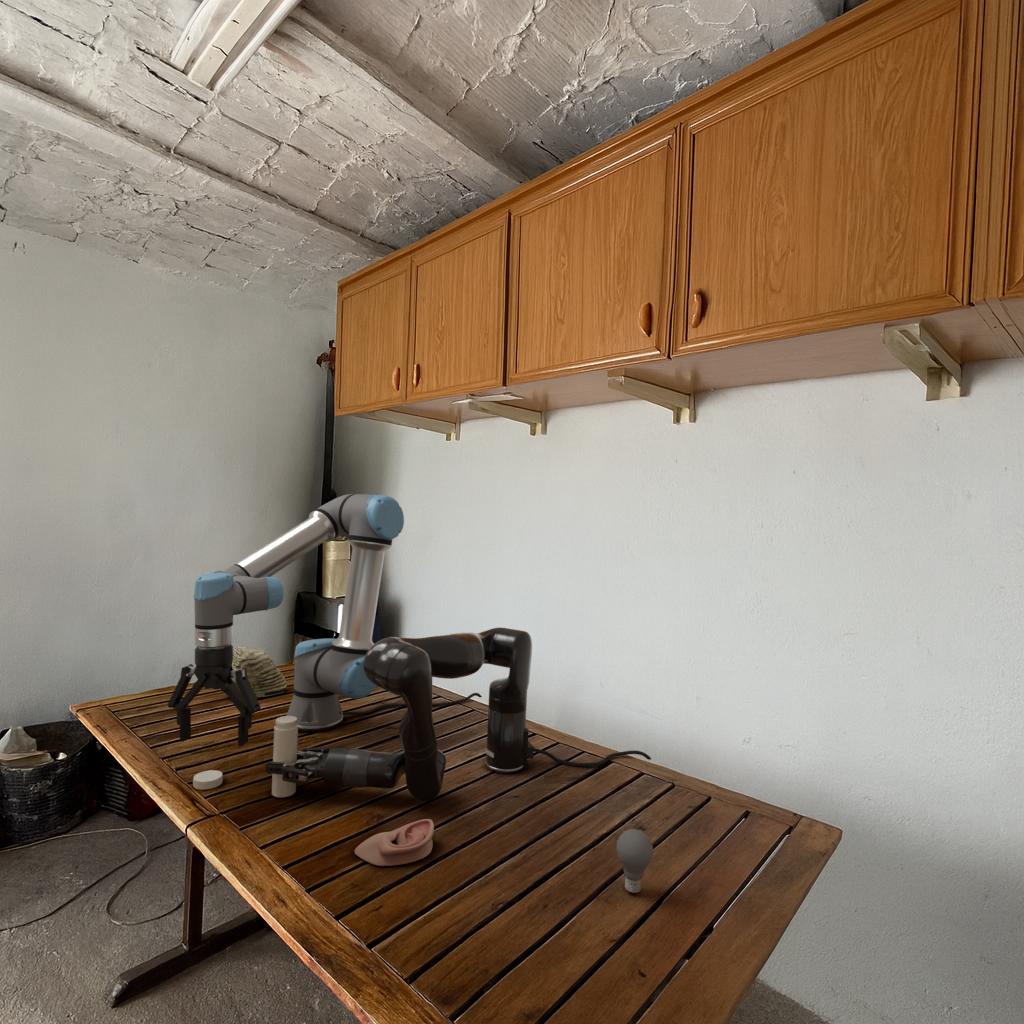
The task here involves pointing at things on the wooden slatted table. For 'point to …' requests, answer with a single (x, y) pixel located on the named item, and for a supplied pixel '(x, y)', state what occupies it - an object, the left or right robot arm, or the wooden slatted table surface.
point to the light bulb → (634, 857)
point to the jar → (284, 753)
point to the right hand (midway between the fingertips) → (272, 762)
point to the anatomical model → (398, 844)
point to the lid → (207, 779)
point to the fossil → (259, 671)
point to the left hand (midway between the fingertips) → (214, 741)
